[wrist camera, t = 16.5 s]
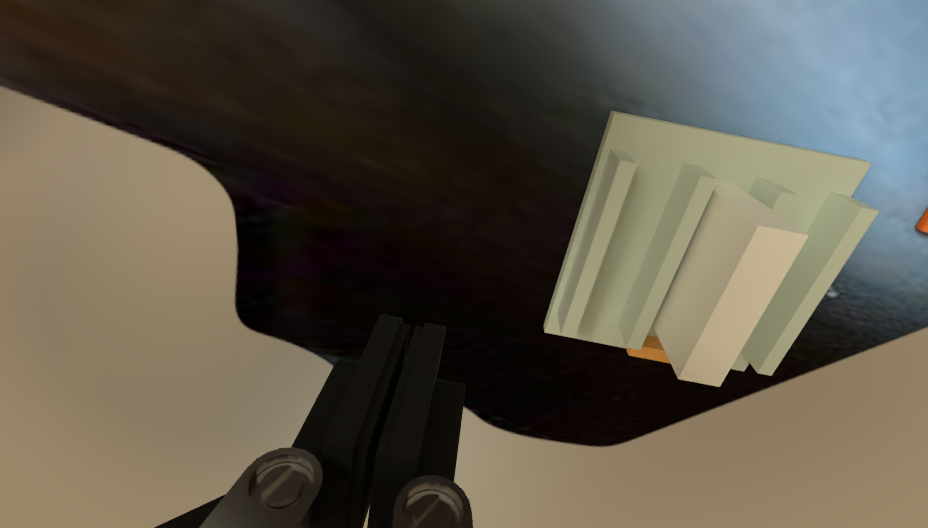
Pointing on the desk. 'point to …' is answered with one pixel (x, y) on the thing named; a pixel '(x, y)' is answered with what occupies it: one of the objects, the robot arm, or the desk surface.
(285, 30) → the desk surface
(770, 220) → the panel
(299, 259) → the desk surface
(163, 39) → the desk surface
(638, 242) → the rack
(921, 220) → the magnifying glass
